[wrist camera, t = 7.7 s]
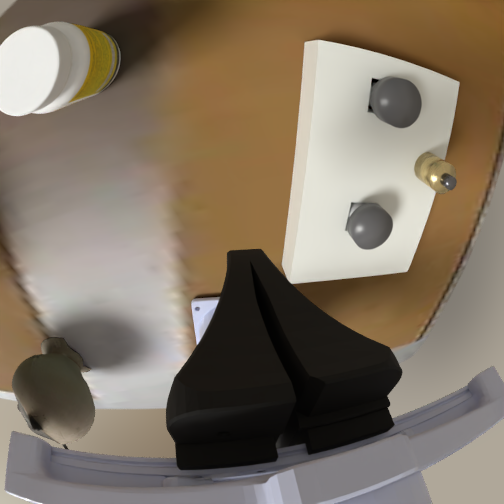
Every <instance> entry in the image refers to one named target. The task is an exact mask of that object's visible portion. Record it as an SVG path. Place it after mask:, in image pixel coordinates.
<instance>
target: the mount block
mask: <svg viewBox="0 0 504 504" xmlns="http://www.w3.org/2000/svg"><path fill="white" fill-rule="evenodd" d="M388 76H392V77H397V78H402V79H406V80H409V81H410V82H412V83H413V84H414V85H415V86H416V87H417V89H418V90H419V93H420V96H421V101H422V107H421V112H420V115H419V117H418V119H417V120H416V121H415V122H414V123H413V124H412V125H411V126H409V127H406V128H396V127H394V126H392V125H389V124H387V123H385V122H383V121H381V120H380V119H379V118H378V117H377V116H376V115H375V114H374V112H373V109H368V105H369V97H370V90H371V81H372V79H377V80H380V79H382V78H384V77H388ZM458 90H459V82H458V81H456V80H453V79H451V78H449V77H446V76H444V75H441V74H439V73H436V72H434V71H431V70H429V69H426V68H423V67H420V66H418V65H415V64H412V63H409V62H406V61H403V60H400V59H397V58H393V57H390V56H387V55H383V54H380V53H376V52H372V51H369V50H365V49H361V48H357V47H352V46H348V45H343V44H338V43H333V42H328V41H322V40H314V41H308V42H305V45H304V59H303V72H302V84H301V96H300V107H299V118H298V129H297V139H296V149H295V159H294V168H293V177H292V186H291V195H290V204H289V212H288V220H287V228H286V236H285V244H284V252H283V260H282V267H283V269H284V272H285V274H286V277H287V280H288V281H289V282H290V283H291V284H295V283H306V282H317V281H327V280H338V279H347V278H357V277H366V276H375V275H384V274H393V273H401V272H407V271H408V269H409V267H410V264H411V262H412V259H413V257H414V254H415V251H416V249H417V246H418V244H419V241H420V238H421V235H422V233H423V230H424V227H425V224H426V221H427V218H428V215H429V212H430V209H431V206H432V203H433V200H434V196H435V193H436V192H435V191H434V190H433V189H431V188H430V187H429V186H427V185H426V184H425V183H423V182H422V181H421V180H419V179H418V178H417V177H416V175H415V172H414V166H415V162H416V160H417V159H418V157H419V156H420V155H421V154H423V153H425V152H430V153H432V154H434V155H436V156H438V157H439V158H441V159H443V160H445V156H446V152H447V148H448V144H449V139H450V135H451V130H452V125H453V120H454V114H455V109H456V103H457V97H458ZM351 202H361V203H365V204H366V203H376V204H379V205H380V206H381V207H382V208H383V209H384V210H385V211H386V212H387V213H388V214H389V215H390V216H391V218H392V220H393V228H392V232H391V234H390V236H389V237H388V239H387V240H386V241H385V242H384V243H383V244H382V245H380V246H379V247H377V248H374V249H370V250H365V249H361V248H360V247H358V246H357V244H356V243H355V242H354V240H353V239H352V238H351V236H350V235H349V233H348V230H347V224H348V220H349V219H348V215H349V210H350V206H351Z"/></svg>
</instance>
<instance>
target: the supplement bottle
mask: <svg viewBox="0 0 504 504" xmlns="http://www.w3.org/2000/svg"><path fill="white" fill-rule="evenodd" d="M120 60H121V56H120V50H119V47H118V44H117V42H116V41H115V40H114V38H113V37H112V36H110V35H109V34H107V33H105V32H103V31H100V30H96V29H93V28H89V27H85V26H81V25H77V24H73V23H69V22H52V23H48V24H45V25H42V26H29V27H25V28H22V29H20V30H18V31H16V32H14V33H13V34H12V35H10V36H9V37H8V38H7V39H6V40H5V41H4V42H3V43H2V45H1V46H0V110H1V111H2V112H4V113H6V114H8V115H12V116H22V115H26V114H29V113H37V114H42V113H49V112H53V111H56V110H58V109H61V108H63V107H65V106H68V105H70V104H73V103H75V102H78V101H81V100H83V99H86V98H90V97H92V96H94V95H97V94H98V93H100V92H101V91H103V90H104V89H105V88H106V87H108V86H109V85H110V83H111V82H112V81H113V80H114V78H115V76H116V75H117V72H118V70H119V66H120Z"/></svg>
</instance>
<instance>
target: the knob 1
mask: <svg viewBox="0 0 504 504" xmlns="http://www.w3.org/2000/svg"><path fill="white" fill-rule="evenodd" d="M348 219H349V220H348V224H347V230H348V233H349V235H350V236H351V238H352V239H353V240H354V242H355V243H356V244H357V246H358V247H360V248H361V249H365V250H370V249H374V248H377V247H379V246H380V245H382V244H383V243H384V242H385V241H386V240H387V239H388V237H389V236H390V234H391V232H392V228H393V220H392V218H391V216H390V215H389V214H388V213H387V212H386V211H385V210H384V209H383V208H382V207H381V206H380V205H379V204H376V203H366V204H365V203H361V202H351V206H350V210H349V215H348Z"/></svg>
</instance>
